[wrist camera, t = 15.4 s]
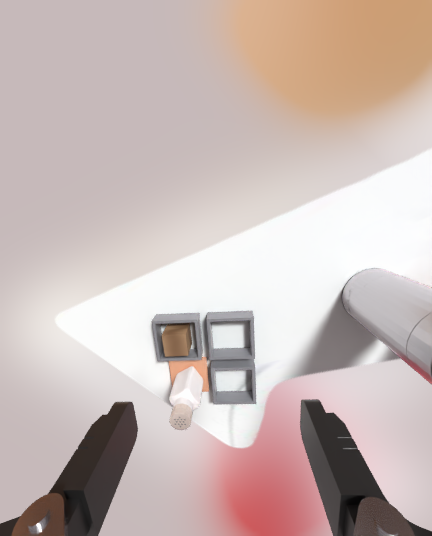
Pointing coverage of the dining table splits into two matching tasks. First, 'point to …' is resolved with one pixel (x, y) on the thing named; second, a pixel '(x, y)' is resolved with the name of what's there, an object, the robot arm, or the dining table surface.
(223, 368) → the shaker bin
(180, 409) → the salt shaker
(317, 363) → the dining table surface
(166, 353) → the walnut cube
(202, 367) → the terracotta pad
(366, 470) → the robot arm
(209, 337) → the empty bin
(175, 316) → the bin with cube
